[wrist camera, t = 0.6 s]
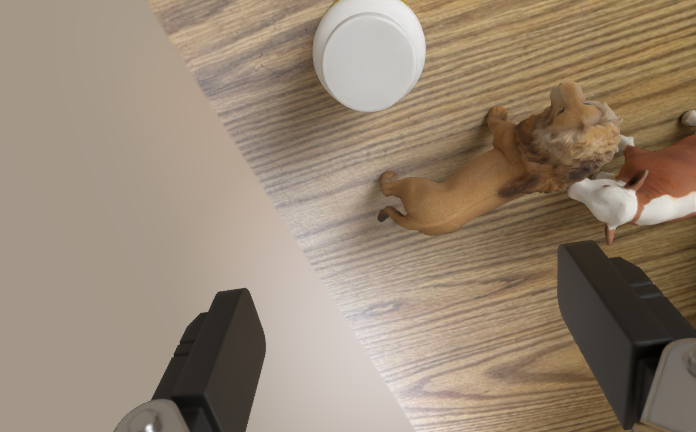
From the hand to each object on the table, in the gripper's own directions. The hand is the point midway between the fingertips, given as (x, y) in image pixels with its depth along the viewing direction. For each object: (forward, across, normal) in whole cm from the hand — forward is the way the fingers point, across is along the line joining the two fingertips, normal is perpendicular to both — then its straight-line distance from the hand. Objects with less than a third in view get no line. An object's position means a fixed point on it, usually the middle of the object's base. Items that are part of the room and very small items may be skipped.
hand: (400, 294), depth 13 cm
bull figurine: (+20, -16, +6) cm, 27 cm away
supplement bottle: (+21, 0, -4) cm, 21 cm away
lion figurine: (+20, -5, +4) cm, 22 cm away
